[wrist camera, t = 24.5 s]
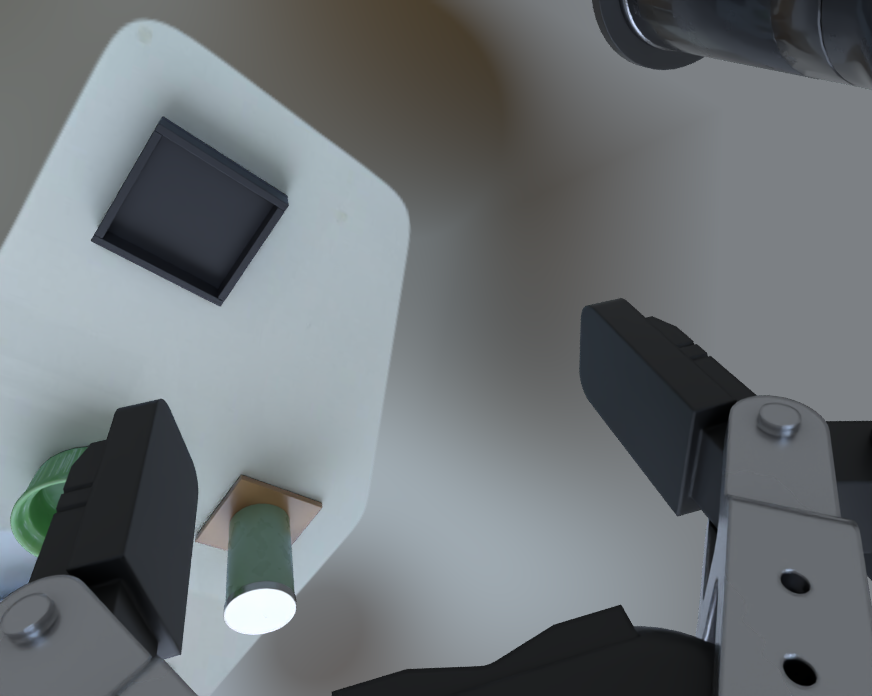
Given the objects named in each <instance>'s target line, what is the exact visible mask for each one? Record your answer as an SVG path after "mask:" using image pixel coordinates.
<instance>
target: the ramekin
mask: <svg viewBox="0 0 872 696" xmlns="http://www.w3.org/2000/svg"><path fill="white" fill-rule="evenodd" d="M87 448H88V447H82V448H74V449H71V450H67V451H64V452H61V453H59V454H57V455H55V456H53V457H51V458H50V459H49V460H47V461H46V462H45V463H44V464H43V465H42V466H41V467H40V469H39V470H38V471H37V473H36V474H35V476H34V478H33V480H32V481H31V483H30V485H29V487H28V488H27V490H26V491H25V492H24V493H23V494H22V496H21V497H20V498H19V499H18V500H17V502H16V503H15V505H14V507H13V510H12V513H11V518H10V523H11V529H12V532H13V534H14V536H15V538H16V540H17V541H18V543H19V544H21V546H22V547H23V548H24V549H25V550H27V551H28V552H29V553H31V554H33V555H34V556H36V557H38V556H39V553H40V550H41V548H42V545H43V542H44V539H45V537H46V534H47V531H48V529H49V526H50V523H51V520H52V518H53V515H54V514H55V513H57V511H56V507H57V504H58V501H59V499H60V496H61V494H64V491H63V488H64V485H65V482H66V480H67V477H68V474H69V471H70V469H71V466H72V465H73V464H74V463H75V461H76V460H77V459H78V458H79V457H80V456H81V455H82V453H83V452H84V451H85V450H86V449H87Z"/></svg>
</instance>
